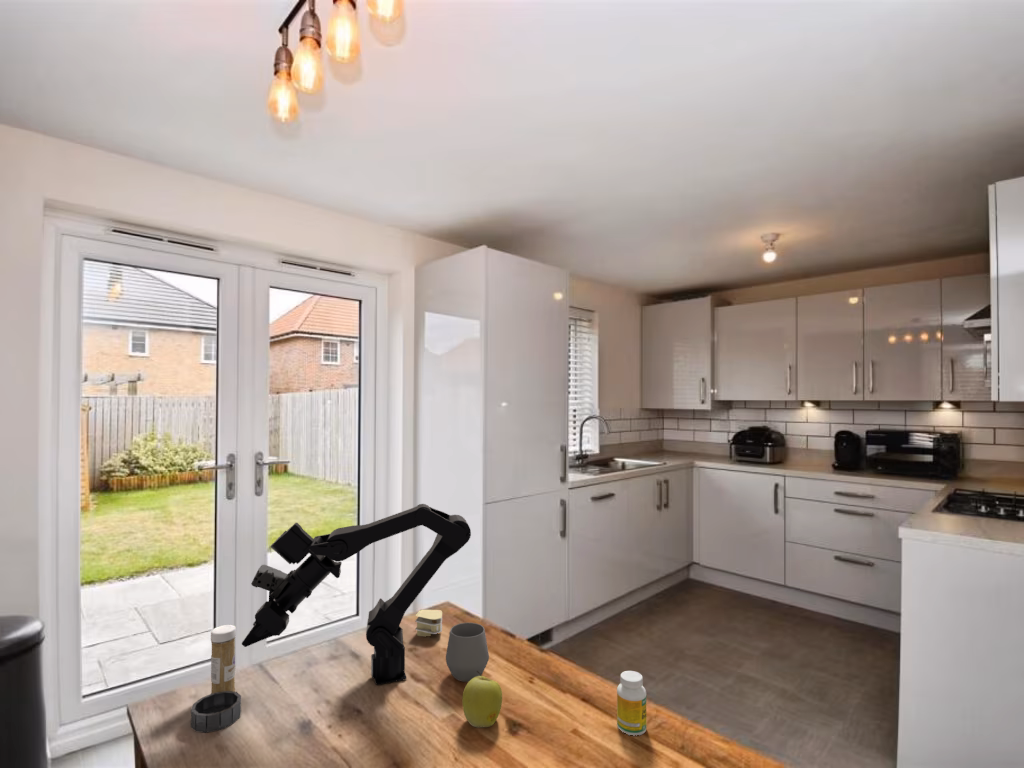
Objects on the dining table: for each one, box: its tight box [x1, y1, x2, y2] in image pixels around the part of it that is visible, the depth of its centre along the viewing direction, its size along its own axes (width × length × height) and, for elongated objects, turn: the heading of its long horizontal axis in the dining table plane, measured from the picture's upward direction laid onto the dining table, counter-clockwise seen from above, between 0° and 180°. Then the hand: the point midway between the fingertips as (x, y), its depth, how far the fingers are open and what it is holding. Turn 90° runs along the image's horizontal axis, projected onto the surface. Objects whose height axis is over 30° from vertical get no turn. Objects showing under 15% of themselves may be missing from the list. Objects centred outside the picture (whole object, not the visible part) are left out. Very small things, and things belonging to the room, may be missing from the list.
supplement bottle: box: [616, 670, 647, 737], centre depth 100 cm, size 5×5×10 cm
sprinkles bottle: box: [210, 624, 237, 694], centre depth 112 cm, size 5×5×14 cm
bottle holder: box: [190, 691, 242, 734], centre depth 103 cm, size 8×8×3 cm
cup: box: [445, 622, 490, 683], centre depth 119 cm, size 10×9×10 cm
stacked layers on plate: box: [414, 609, 443, 637], centre depth 140 cm, size 10×9×6 cm
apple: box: [461, 671, 503, 728], centre depth 103 cm, size 8×8×10 cm
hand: (249, 635), depth 113 cm, fingers open, 9 cm apart
